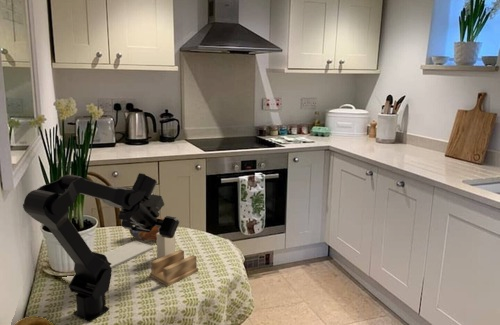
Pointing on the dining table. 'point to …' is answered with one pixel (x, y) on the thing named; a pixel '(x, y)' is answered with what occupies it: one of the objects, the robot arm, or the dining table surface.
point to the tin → (146, 233)
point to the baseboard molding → (122, 254)
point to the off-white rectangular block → (165, 246)
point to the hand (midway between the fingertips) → (161, 233)
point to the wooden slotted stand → (173, 267)
